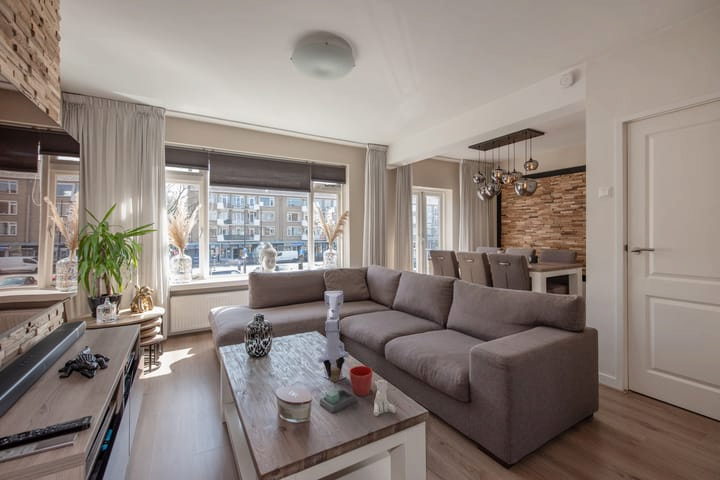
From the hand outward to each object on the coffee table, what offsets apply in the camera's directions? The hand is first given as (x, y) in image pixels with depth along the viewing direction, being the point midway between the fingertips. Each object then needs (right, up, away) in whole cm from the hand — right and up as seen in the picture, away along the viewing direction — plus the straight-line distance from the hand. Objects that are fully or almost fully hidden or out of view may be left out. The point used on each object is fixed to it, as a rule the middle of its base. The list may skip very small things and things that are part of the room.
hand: (333, 375), depth 144 cm
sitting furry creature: (+21, -9, -14) cm, 27 cm away
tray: (+3, -9, -8) cm, 12 cm away
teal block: (0, -8, -10) cm, 13 cm away
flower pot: (+13, -8, +2) cm, 15 cm away
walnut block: (0, -2, 0) cm, 2 cm away
